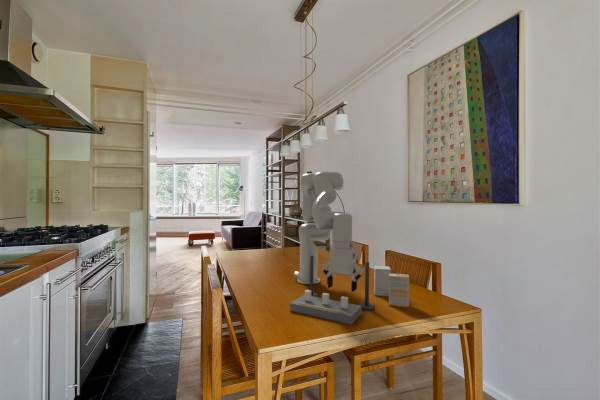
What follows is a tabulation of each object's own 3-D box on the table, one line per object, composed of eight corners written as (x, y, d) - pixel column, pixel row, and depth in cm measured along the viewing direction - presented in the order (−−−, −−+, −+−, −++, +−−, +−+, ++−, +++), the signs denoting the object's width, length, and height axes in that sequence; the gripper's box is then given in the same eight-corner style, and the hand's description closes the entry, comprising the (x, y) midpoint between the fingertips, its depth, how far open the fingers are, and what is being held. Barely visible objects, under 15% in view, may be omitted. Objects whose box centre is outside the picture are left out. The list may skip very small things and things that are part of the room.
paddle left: (304, 300, 122) (304, 290, 122) (306, 299, 123) (306, 289, 123) (309, 301, 121) (309, 291, 121) (311, 300, 122) (311, 290, 122)
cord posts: (302, 297, 135) (302, 256, 135) (308, 294, 140) (309, 254, 140) (371, 311, 119) (372, 264, 119) (375, 306, 124) (376, 261, 124)
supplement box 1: (390, 296, 138) (391, 269, 137) (374, 295, 139) (374, 268, 139) (389, 291, 145) (389, 266, 145) (373, 290, 146) (374, 265, 146)
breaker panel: (290, 310, 119) (290, 302, 119) (304, 301, 130) (304, 294, 130) (351, 324, 107) (351, 315, 107) (361, 313, 117) (361, 305, 117)
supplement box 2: (408, 304, 127) (409, 274, 127) (409, 308, 123) (409, 277, 123) (388, 302, 130) (389, 272, 130) (388, 305, 126) (388, 275, 126)
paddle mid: (321, 303, 118) (322, 294, 118) (323, 302, 119) (323, 292, 119) (327, 305, 117) (327, 295, 117) (329, 303, 118) (329, 293, 118)
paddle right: (340, 307, 114) (340, 297, 114) (342, 306, 116) (342, 296, 116) (346, 308, 113) (346, 298, 113) (348, 307, 114) (348, 297, 114)
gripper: (366, 245, 114) (366, 289, 114) (325, 241, 122) (325, 283, 122) (360, 248, 107) (360, 295, 107) (317, 244, 116) (317, 287, 116)
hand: (341, 288), depth 115 cm, fingers open, 9 cm apart
